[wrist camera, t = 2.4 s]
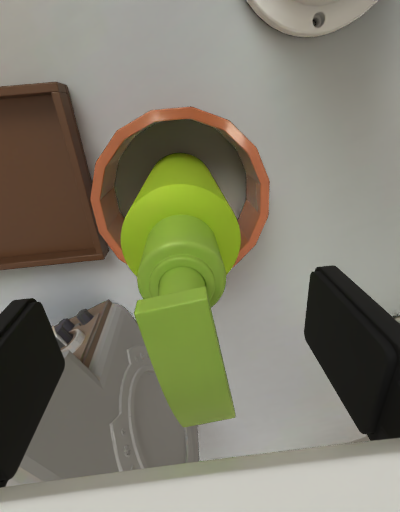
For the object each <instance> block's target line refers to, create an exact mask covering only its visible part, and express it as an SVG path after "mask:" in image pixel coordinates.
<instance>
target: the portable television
mask: <svg viewBox="0 0 400 512" xmlns="http://www.w3.org/2000/svg"><path fill="white" fill-rule="evenodd" d="M52 330H53V332H54V335H55V337H56V340H57V342H58V344H59V347H60V349H61V352H62V354H63V357H64V359H65V368H64V371H63V373H62V375H61V378H60V380H59V382H58V384H57V386H56V388H55V390H54V393H53V395H52V397H51V399H50V401H49V403H48V406H47V408H46V410H45V412H44V414H43V416H42V418H41V421H40V423H39V425H38V427H37V429H36V431H35V434H34V436H33V438H32V440H31V442H30V444H29V446H28V449H27V451H26V453H25V455H24V457H23V459H22V462H21V464H20V466H19V468H18V470H17V472H16V474H15V475H14V477H13V478H11V479H9V480H8V482H7V484H6V486H5V487H9V486H16V485H24V484H31V483H39V482H46V481H53V480H61V479H68V478H76V477H83V476H91V475H98V474H106V473H113V472H121V471H129V470H137V469H144V468H152V467H160V466H168V465H175V464H183V463H191V462H199V444H198V427H197V425H195V426H190V427H182V426H181V424H180V423H179V422H178V420H177V419H176V417H175V416H174V414H173V412H172V410H171V408H170V406H169V404H168V402H167V400H166V398H165V396H164V394H163V391H162V389H161V386H160V384H159V381H158V379H157V376H156V373H155V371H154V368H153V365H152V363H151V360H150V357H149V354H148V352H147V349H146V346H145V343H144V340H143V338H142V335H141V332H140V329H139V326H138V323H137V322H136V321H135V320H134V318H133V317H132V316H131V315H130V314H129V312H128V311H127V310H126V309H125V308H124V307H123V306H121V305H119V304H112V303H111V302H110V301H109V300H107V301H105V302H103V303H101V304H99V305H97V306H95V307H93V308H91V309H89V310H86V309H83V310H81V311H80V312H79V313H78V314H77V316H75V317H73V318H71V319H63V320H62V321H60V322H59V324H58V325H57V326H54V325H53V326H52Z"/></svg>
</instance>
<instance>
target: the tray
mask: <svg viewBox="0 0 400 512" xmlns="http://www.w3.org/2000/svg"><path fill="white" fill-rule="evenodd" d="M91 190H92V182H91V178H90V174H89V170H88V166H87V162H86V158H85V155H84V151H83V147H82V143H81V139H80V135H79V131H78V127H77V123H76V119H75V115H74V112H73V108H72V104H71V100H70V96H69V92H68V88H67V85H65V84H61V83H58V82H48V83H37V84H25V85H14V86H2V87H0V270H6V269H15V268H25V267H35V266H45V265H54V264H64V263H74V262H83V261H93V260H103V259H105V257H106V255H107V253H108V252H109V248H108V244H107V242H106V241H105V240H104V238H103V237H102V236H101V234H100V233H99V231H98V227H97V223H96V219H95V215H94V212H93V208H92V204H91V200H90V197H91Z"/></svg>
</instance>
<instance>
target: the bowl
mask: <svg viewBox="0 0 400 512" xmlns="http://www.w3.org/2000/svg"><path fill="white" fill-rule="evenodd" d="M183 119H190V120H192V121H195V122H198V123H201V124H204V125H206V126H209V127H212V128H215V129H216V130H217V131H218V132H219V133H220V134H221V135H222V136H224V137H225V138H226V139H227V140H228V141H229V142H230V143H231V144H232V145H233V146H234V147H235V148H236V150H237V152H238V155H239V157H240V160H241V162H242V164H243V167H244V169H245V171H246V201H245V204H244V206H243V209H242V211H241V214H240V216H239V219H238V224H239V228H240V234H241V244H240V250H239V254H238V257H237V259H236V262H235V264H234V265H233V267H234V266H235V265H236V264H237V263H238V262H239V261H240V260H241V259H242V258H243V257H244V256H245V255H246V254H247V253H248V252H249V251H250V250H251V249H252V248H253V247H254V246H255V245H256V243H257V240H258V238H259V236H260V234H261V231H262V229H263V227H264V225H265V222H266V220H267V218H268V214H269V183H270V182H269V178H268V176H267V173H266V171H265V168H264V165H263V163H262V160H261V158H260V155H259V153H258V150H257V148H256V147H255V146H254V145H253V144H252V143H251V142H250V141H249V140H248V139H247V138H246V137H245V136H244V135H243V134H242V133H241V132H240V131H239V130H238V129H237V128H236V127H235V126H234V125H233V124H232V123H231V122H230V121H229V120H227V119H224V118H221V117H219V116H216V115H213V114H210V113H208V112H205V111H202V110H200V109H197V108H194V107H181V108H170V109H159V110H150V111H149V112H147V113H145V114H144V115H142V116H140V117H139V118H137V119H135V120H134V121H132V122H130V123H129V124H127V125H125V126H124V127H122V128H120V129H119V130H117V131H116V133H115V134H114V136H113V137H112V139H111V140H110V142H109V143H108V145H107V146H106V148H105V149H104V151H103V152H102V154H101V155H100V157H99V158H98V160H97V161H96V164H95V170H94V177H93V183H92V190H91V197H90V200H91V204H92V208H93V212H94V215H95V219H96V223H97V227H98V231H99V233H100V234H101V236H102V237H103V238H104V240H105V241H106V242H107V244H108V245H109V246H110V248H111V249H112V250H113V252H114V253H115V254H116V256H117V257H118V258H119V260H121V261H123V262H124V263H126V261H125V258H124V256H123V252H122V248H121V230H122V225H123V222H124V219H125V218H124V217H123V215H122V214H121V213H120V210H119V205H118V201H117V196H116V192H115V187H114V184H115V178H116V173H117V168H118V162H119V159H120V157H121V156H122V154H123V153H124V151H125V150H126V148H127V147H128V145H129V144H130V143H131V141H132V140H133V138H134V137H135V136H136V135H138V134H139V133H141V132H143V131H145V130H146V129H148V128H150V127H151V126H153V125H155V124H156V123H158V122H161V121H172V120H183ZM126 264H127V263H126ZM233 267H232V268H233Z"/></svg>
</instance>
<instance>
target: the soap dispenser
mask: <svg viewBox="0 0 400 512" xmlns="http://www.w3.org/2000/svg"><path fill="white" fill-rule="evenodd" d="M240 244H241V234H240V228H239V224H238V221H237V219H236V216H235V215H234V213H233V211H232V209H231V208H230V206H229V204H228V202H227V201H226V199H225V197H224V196H223V194H222V192H221V190H220V189H219V187H218V185H217V184H216V182H215V180H214V178H213V177H212V175H211V173H210V172H209V170H208V168H207V167H206V165H205V164H204V163H203V162H202V161H201V160H199V159H198V158H196V157H195V156H192V155H190V154H186V153H174V154H170V155H167V156H165V157H164V158H162V159H161V160H159V161H158V162H157V163H156V164H155V166H154V167H153V169H152V171H151V172H150V174H149V176H148V178H147V179H146V181H145V183H144V185H143V186H142V188H141V190H140V192H139V194H138V195H137V197H136V199H135V201H134V202H133V204H132V206H131V208H130V210H129V211H128V213H127V215H126V217H125V219H124V222H123V225H122V230H121V248H122V252H123V256H124V258H125V261H126V263H127V265H128V266H129V268H130V269H131V271H132V272H133V273H134V274H135V275H136V276H137V282H138V288H139V291H140V294H141V296H142V297H143V299H142V300H138V301H137V304H136V308H135V312H134V315H135V318H136V321H137V323H138V326H139V329H140V332H141V335H142V338H143V340H144V343H145V346H146V349H147V352H148V354H149V357H150V360H151V363H152V365H153V368H154V371H155V373H156V376H157V379H158V381H159V384H160V386H161V389H162V391H163V394H164V396H165V398H166V400H167V402H168V404H169V406H170V408H171V410H172V412H173V414H174V416H175V417H176V419H177V420H178V422H179V423H180V424H181V426H182V427H190V426H195V425H200V424H205V423H210V422H215V421H220V420H225V419H231V418H235V410H234V405H233V401H232V396H231V392H230V388H229V384H228V380H227V375H226V371H225V367H224V363H223V358H222V354H221V350H220V345H219V341H218V337H217V333H216V328H215V324H214V320H213V315H212V311H211V307H212V306H213V305H215V304H216V303H217V301H218V300H219V299H220V297H221V296H222V294H223V292H224V289H225V285H226V275H227V274H228V272H229V271H230V270H231V268H232V267H233V265H234V264H235V262H236V259H237V257H238V254H239V250H240Z"/></svg>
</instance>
